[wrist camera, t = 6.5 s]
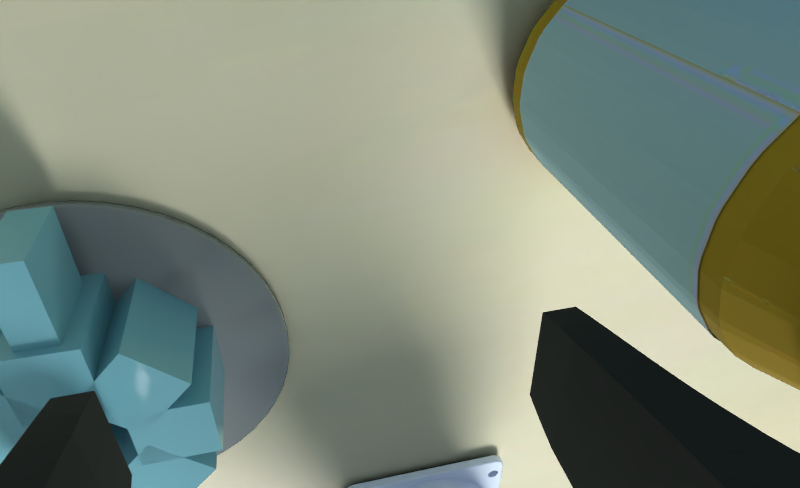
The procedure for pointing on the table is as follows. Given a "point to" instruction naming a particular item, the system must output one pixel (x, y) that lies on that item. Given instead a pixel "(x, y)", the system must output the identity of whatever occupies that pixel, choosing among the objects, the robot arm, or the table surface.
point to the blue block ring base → (136, 333)
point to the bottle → (682, 150)
